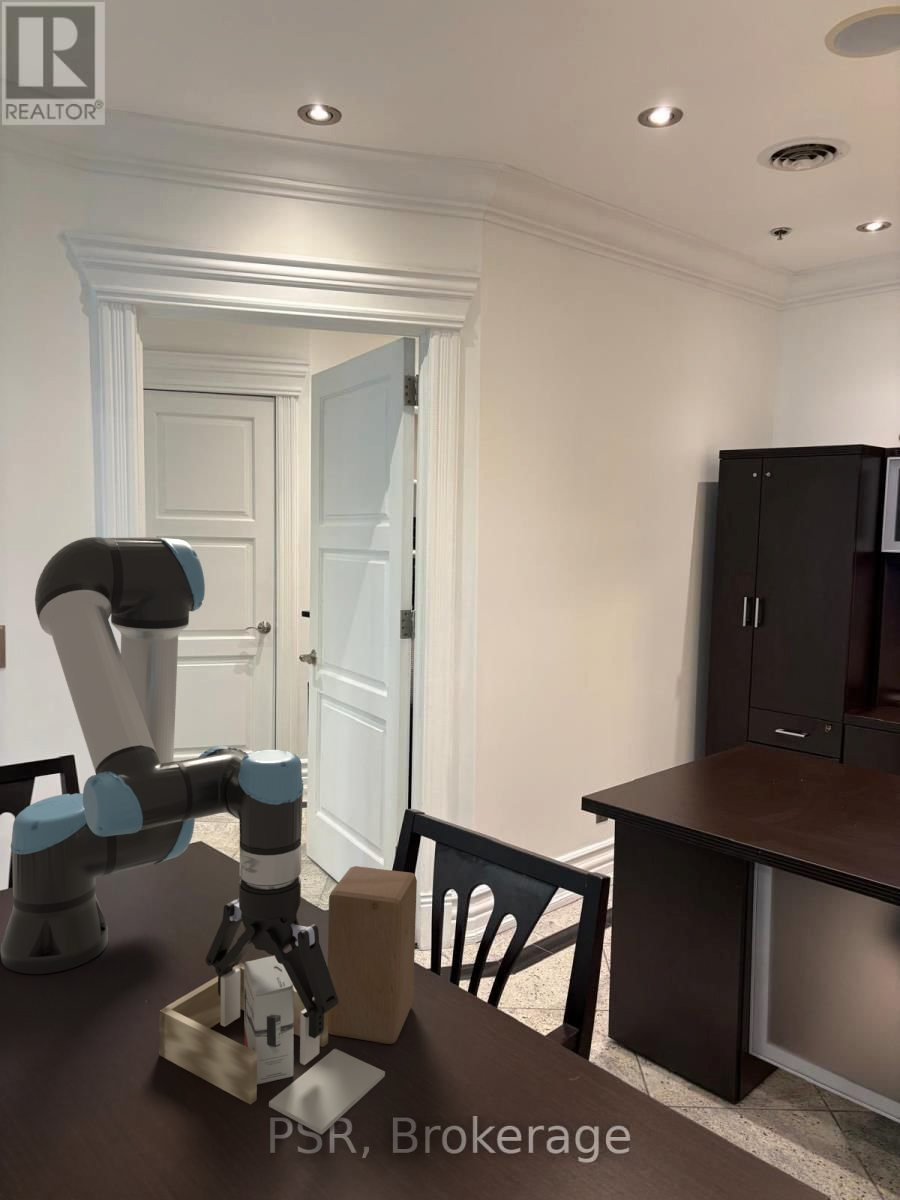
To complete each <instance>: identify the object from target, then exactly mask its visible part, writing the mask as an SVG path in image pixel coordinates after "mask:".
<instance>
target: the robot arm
mask: <svg viewBox="0 0 900 1200" xmlns="http://www.w3.org/2000/svg"><path fill="white" fill-rule="evenodd" d="M205 585H206V584H205V576H204V572H203V567H202V564H201V561H200V559H199V557H198V555H197V552H196V551H195V549H194V548H193V547H192V546H191V545H190V544H189V543H188V542H187V541H186V540H182V539H178V538H167V537H158V536H156V537H147V536H146V537H101V536H96V537H95V536H92V537H91V536H90V537H84V538H80V539H77V540H75V541H72V542H70V543H69V544H67V545H65V546H63V547H61V549H59V550H58V551H57V552H56V553H55V554H54V555H52V556H51V558H50V559H49V560H48V561H47V563H46V565H45V566H44V568H43V570H42V571H41V573H40V576H39V578H38V580H37V584H36V588H35V595H34V604H35V613H36V616H37V618H38V622H39V625H40V627H41V629H42V630H43V631H44V633H46V634H47V635H49V636H51V638H52V641H53V644H54V646H55V650H56V653H57V656H58V659H59V662H60V666H61V668H62V672H63V675H64V679H65V681H66V685H67V687H68V690H69V694H70V697H71V700H72V704H73V707H74V709H75V712H76V716H77V719H78V722H79V725H80V729H81V731H82V735H83V738H84V741H85V744H86V747H87V751H88V754H89V757H90V760H91V763H92V767H93V770H94V773H95V774H93V775H91V776H89V777H88V778H87V779H86V781H85V783H84V787H83V790H82V793H80V792H79V793H77V792H75V793H73V794H71V793H65V794H58V795H54V796H53V795H52V796H50V797H47V798H44V799H40V800H38V801H36V802H34V803H32V804H30V805H28V806H26V807H25V808H23V810H21V811H20V812H19V813H18V814H17V815H16V817H15V818H14V820H13V823H12V833H11V842H10V850H11V853H12V855H11V858H12V861H11V863H12V899H13V900H12V901H13V902H12V903H13V904H12V911H11V914H10V917H9V920H8V923H7V926H6V929H5V932H4V935H3V938H2V941H1V945H0V959H1V960H0V961H1V963H2V965H3V966H4V967H5V968H7V969H8V970H10V971H13V972H17V973H20V974H26V975H44V974H53V973H58V972H59V973H60V972H62V971H67V970H71V969H73V968H76V967H79V966H81V965H84V964H86V963H88V962H90V961H92V960H93V959H95V958H96V957H97V956H99V955H100V954H101V953H103V951H104V950H105V949H106V947H108V943H109V939H108V938H109V933H108V930H109V929H108V923H107V920H106V918H105V916H104V913H103V910H102V908H101V906H100V903H99V900H98V898H97V895H96V892H97V891H96V890H97V889H96V886H97V885H96V881H97V880H96V879H97V878H98V877H99V878H100V877H103V876H108V875H111V874H116V873H120V872H124V871H129V870H132V869H136V868H142V867H145V866H149V865H159V864H161V863H163V862H164V861H167V860H168V861H169V860H171V859H174V858H178V857H179V856H181V855H182V854H183V853H184V852H185V851H186V850H187V849H188V847H189V845H190V843H191V840H192V839H193V836H194V835H193V834H194V829H195V821H196V819H199V818H204V817H209V816H213V815H219V814H224V813H228V814H230V815H232V816H233V817H234V818H236V819H238V820H239V823H238V824H239V878H240V880H239V882H238V885H239V887H238V891H239V892H238V897H237V898H236V899H233V900H232V901H230V902H228V903H226V904H224V906H223V913H222V920H221V923H220V925H219V928H218V930H217V932H216V934H215V937H214V939H213V940H212V943H211V946H210V948H209V949H208V951H207V955H206V958H205V964H206V965H207V966H209V967H211V966H212V967H214V968H215V969H214V970H215V973H216V974H217V976H218V993H219V996H221V1022H220V1026H222V1027H226V1026H228V1025H229V1024H232V1023H233V1022H234V1021H235V1020H236V1021H237V1020H238V1019H239V1018H241V1009H240V969H238V968H235V969H234V970H233V967H234V966H236V965H238V964H239V963H240V961H241V960H242V959H243V958H244V957H245V956H246V954H247V953H248V952H249V951H250V950H251V949H252V947H253V946H254V949H256V950H257V951H265V952H266V953H267V954H268V955H270V956H275V958H276V960H277V961H278V963H279V964H283V966H284V968H285V970H286V972H287V974H288V976H289V978H290V979H291V981H292V983H293V985H294V987H295V989H296V991H297V993H298V995H299V997H300V999H301V1001H302V1003H303V1005H304V1007H305V1009H304V1010H303V1011H301V1022H300V1036H299V1039H300V1040H299V1041H300V1043H299V1044H300V1045H299V1048H300V1049H299V1063H300V1064H302V1065H304V1066H305V1065H307V1064H308V1063H309V1062H311V1061H312V1060H314V1058H315V1057H317V1056H318V1055H319V1054H320V1046H319V1044H320V1034H321V1033H322V1032H323V1030H324V1014H325V1013H326V1012H327V1011H329V1010H330V1009H331V1008H333V1007H334V1006H335V1005H337V1004H338V998H337V995H336V992H335V989H334V986H333V983H332V980H331V977H330V974H329V971H328V968H327V967H328V964H327V962H326V960H325V956H324V953H323V951H322V947H321V944H320V935H319V927H318V925H316V924H314V923H312V924H310V925H309V926H304V925H300V923H299V921H298V916H297V915H298V910H299V908H300V906H301V901H302V900H301V898H302V896H301V895H302V879H301V876H300V875H301V873H302V830H303V829H302V825H303V792H304V783H303V782H304V780H303V775H302V774H303V771H302V761H301V758H300V757H299V756H298V755H297V754H296V753H294V752H292V751H287V750H286V751H285V750H281V749H262V750H257V751H256V750H255V751H252V752H249V753H247V752H246V751H243V750H242V749H238V748H235V747H231V746H228V745H216V746H213V747H210V748H208V749H207V750H206V751H204V752H203V753H201V754H200V755H199V756H198V757H196V758H194V757H193V758H189V759H182V760H177V761H174V756H175V755H174V754H175V727H176V725H175V724H176V706H177V705H176V701H177V698H176V697H177V680H178V679H177V675H178V671H177V670H178V651H179V649H178V647H179V634H180V633H181V632H183V631H184V629H186V628H187V627H188V626H189V622H190V619H189V618H190V612H195V611H197V610H198V609H200V607H201V606H202V605H203V601H204V599H205V594H206V593H205V591H206V590H205ZM109 619H110V621H109ZM110 623H111V624H110ZM112 626H113V627H114V628H115V629H116V630H117V631H118V632H120V648H119V646H118V644H117V640H116V637H115V634H114V632H113V631H114V630H113V629H112ZM241 923H242V924H243V926H244V928H245V930H244V931H243V932H242V934H241V935H240V936H239V938H237V940H236V943H235V944H234V945H233V946H232V943H233V940H234V939H235V936H236V934H237V932H238V930H239V928H240V926H241ZM231 946H232V947H231ZM288 947H291V950H289V951H287V952H285V950H287V948H288ZM313 997H314V999H315V1000H314V1001H313V1000H312V999H313Z"/></svg>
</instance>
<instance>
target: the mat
mask: <svg viewBox="0 0 900 1200" xmlns="http://www.w3.org/2000/svg"><path fill="white" fill-rule="evenodd" d="M385 1076H386V1071H384V1070H382V1069H381V1068H378V1067H376V1066H374V1065H372V1064H370V1063H367V1062H365V1061H363V1060H360V1059H359V1058H356V1057H354V1056H352V1055H350V1054H348V1053H346V1052H344V1051H341V1050H340V1049H337V1048H334V1049H332V1050H331V1051H330V1052H329V1053H328V1054H326V1055H325V1056H324V1057H323V1058H321V1059H320V1060H319V1061H317V1062H316V1063H315V1064H314V1065H313V1066H312V1067H310V1068H308V1070H306V1071H305V1072H304V1073H303V1074H301V1075H300V1076H299V1077H298V1078H296V1079H295V1080H294V1081H293V1082H292V1083H290V1084H289V1085H288V1086H287V1087H285V1088H284V1089H283V1090H282V1091H281V1092H279V1093H278V1094H277V1095H275V1096H274V1097H273V1098H272V1099H270V1100H269V1101H268V1107H269V1108H271V1109H273V1110H275V1111H276V1112H278V1113H280V1114H282V1115H284V1116H286V1117H288V1118H290V1119H292V1120H293V1121H295V1122H297V1123H298V1124H301V1125H303V1126H305V1127H306V1128H308V1129H310V1130H312V1131H314V1132H315V1133H316V1134H319V1135H321V1136H322V1135H323V1134H325V1132H326V1131H327V1130H329V1129H330V1127H332V1126H333V1125H334V1124H335V1123H336V1122H337V1121H338V1120H339V1119H340V1118H341V1117H342V1116H344V1115H345V1114H346V1113H347V1112H348V1111H349V1110H350V1109H351V1108H352V1107H353V1106H354V1105H355V1104H357V1103H358V1102H359V1101H360V1100H361V1099H362V1098H363V1097H365V1095H366V1094H367V1093H368V1092H370V1091H371V1090H372V1089H373V1088H374V1087H375V1086H376V1085H377V1084H378V1083H379V1082H380V1081H381V1080H382V1079H383V1078H385Z"/></svg>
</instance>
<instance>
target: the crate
mask: <svg viewBox="0 0 900 1200" xmlns="http://www.w3.org/2000/svg"><path fill="white" fill-rule="evenodd" d="M238 963H239V964H238ZM238 963H237V964H238V965H236V966H234V967H233V970H234V969H235V968H238V969H240V1010H242V1011H244V962H243V963H242V962H238ZM292 986H293V988H294V1028H293V1029H294V1035H296V1036H298V1037H300V1022H301V1011H303V1010H304V1009H305V1007H304V1005H303V1003H302V1001H301V999H300V997H299V995H298V993H297V991H296V989H295V987H294V985H292ZM312 1000H313V1001H314V1000H315V999H314V997H313V999H312ZM328 1012H329V1011H327V1012H326V1013H325V1014H324V1030H323V1032H322V1033H321V1034H320V1044H319V1047H322V1048H324V1047H325V1046H326V1045H328V1044H329V1033H328ZM158 1016H159V1018H158V1019H159V1021H158V1022H159V1023H158V1025H159V1028H158V1029H159V1039H158V1040H159V1041H158V1042H159V1045H158V1050H159V1051H158V1052H159V1054H158V1055H159V1056H160V1057H163V1058H164V1059H166V1060H167V1061H169V1062H172V1063H173V1064H175V1065H176V1066H178V1067H180V1068H183V1069H184V1070H186V1071H188V1072H189V1073H192V1074H194V1075H195V1076H197V1077H199V1078H201V1079H202V1080H205V1081H206V1082H208V1083H210V1084H212V1085H214V1086H215V1087H217V1088H219V1089H221V1090H223V1091H225V1092H227V1093H228V1094H230V1095H232V1096H234V1097H235V1098H238V1099H239V1100H240V1101H243V1102H245V1103H246V1104H249V1105H252V1104H253V1103H255V1102H256V1101H257V1099H258V1098H257V1097H258V1096H257V1094H258V1093H257V1092H258V1086H257V1085H258V1084H257V1052H256V1051H254V1050H252V1049H250V1048H248V1047H246V1046H244V1045H243V1043H242V1044H241V1043H239V1042H238V1041H236V1040H234V1039H231V1038H229V1037H227V1036H225V1035H224V1034H223V1033H222V1034H221V1033H220V1032H218V1031H216V1030H213V1029H211V1028H213V1027H215V1025H218V1024H219V1023H221V996H219V993H218V975H217V976H216V977H214V978H212V979H211V980H209V981H207V982H205V983H204V984H202V985H200V986H199V987H197V988H195V989H193V990H191V991H190V992H189V993H187V994H185V995H183V996H181V997H180V998H178V999H176V1000H175V1001H173V1002H172V1003H170V1004H168V1005H167V1006H165V1007H163V1008H161V1009H160V1010H159V1014H158Z"/></svg>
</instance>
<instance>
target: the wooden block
mask: <svg viewBox="0 0 900 1200" xmlns="http://www.w3.org/2000/svg"><path fill="white" fill-rule="evenodd" d="M417 883H418V881H417V876H416V874H415V873H413V872H408V871H407V872H406V871H399V870H390V869H383V868H382V869H381V868H376V867H375V868H374V867H368V866H357V865H354V866H352V867H350V868H349V869H348V870H347V871H346V872H345V874H344V875H343V876H342V877H341V879H340V880H339V882H338V883H336V885H335V887H334V888H333V889H332V891H330V893H329V896H328V925H327V926H328V927H327V933H328V934H327V968H328V971H329V974H330V977H331V980H332V983H333V986H334V989H335V992H336V995H337V998H338V1004H337V1005H335V1006H334V1007H333V1008H331V1009H330V1010H329V1012H328V1034H330V1035H331V1036H332V1035H333V1036H340V1037H345V1038H349V1039H351V1038H352V1039H356V1040H362V1041H369V1042H374V1043H380V1044H388V1045H391V1044H395V1043H396V1042H397V1041H398V1038H399V1036H400V1034H401V1031H402V1028H403V1027H404V1024H405V1022H406V1020H407V1018H408V1015H409V1012H410V1011H411V1009H412V1005H413V1003H414V985H415V984H414V981H415V980H414V979H415V976H414V975H415V974H414V973H415V951H416V950H415V947H416V923H417V922H416V921H417V919H416V918H417V917H416V916H417V892H418V891H417V890H418V888H417V887H418V885H417Z"/></svg>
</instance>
